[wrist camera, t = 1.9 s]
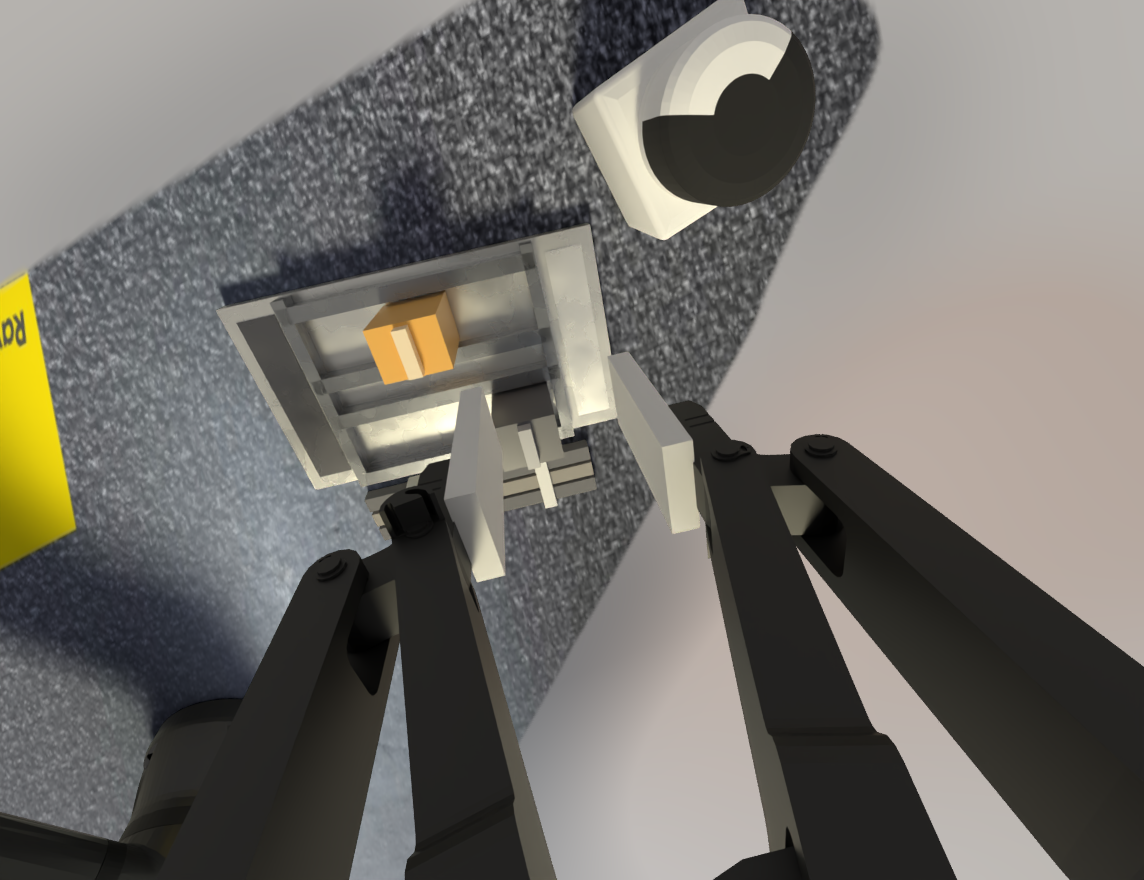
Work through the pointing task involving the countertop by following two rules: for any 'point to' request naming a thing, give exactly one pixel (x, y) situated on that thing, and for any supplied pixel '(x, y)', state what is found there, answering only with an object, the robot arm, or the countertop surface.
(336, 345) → the panel
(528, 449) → the toggle
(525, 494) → the strapped plank bundle
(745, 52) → the container
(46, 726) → the countertop surface
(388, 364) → the toggle
